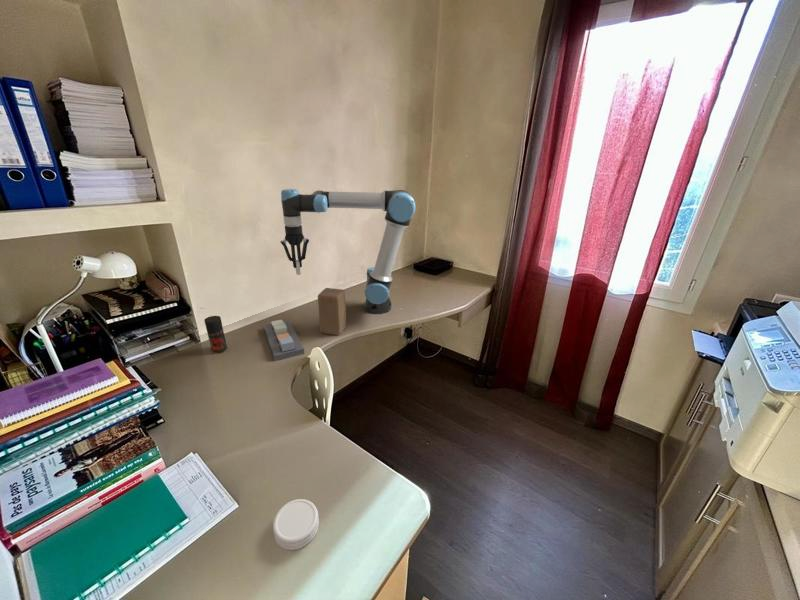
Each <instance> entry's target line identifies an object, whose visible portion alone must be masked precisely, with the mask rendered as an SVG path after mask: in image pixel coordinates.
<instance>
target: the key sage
mask: <svg viewBox="0 0 800 600" xmlns="http://www.w3.org/2000/svg"><path fill="white" fill-rule="evenodd" d="M273 326H274V332H275V335H276V336H275V337H277V335H279V334H284V333H287V327H286V325H285V322H284V323H279V324H274V325H273Z"/></svg>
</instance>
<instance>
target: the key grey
mask: <svg viewBox="0 0 800 600" xmlns="http://www.w3.org/2000/svg"><path fill="white" fill-rule="evenodd" d="M283 321H284V320H283V319H277V320H272V321H270V324H272V329H273V330H274V326H273V325H274V324H279V323H283Z"/></svg>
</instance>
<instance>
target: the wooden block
mask: <svg viewBox="0 0 800 600" xmlns="http://www.w3.org/2000/svg"><path fill="white" fill-rule="evenodd" d="M345 291H346V290H345V289H341V288H332V287H325V288H324V289H323V290H321V292H320V293H318V295H317V303H318V304H317V305H318V315H319V317H318V318H319V327H320V328H319V329H320V333H321V334H326V335H333V336H340V335H341V334H342V333H343V332H344V330H345V329H346V327H347V312H346V311H347V307H346V292H345Z"/></svg>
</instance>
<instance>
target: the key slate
mask: <svg viewBox="0 0 800 600" xmlns="http://www.w3.org/2000/svg"><path fill="white" fill-rule="evenodd" d="M279 342H280V347H281V352H286V351H290V350H294V341H293V339H292V337H291V336H290V337H286V338H281V339H279Z"/></svg>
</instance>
